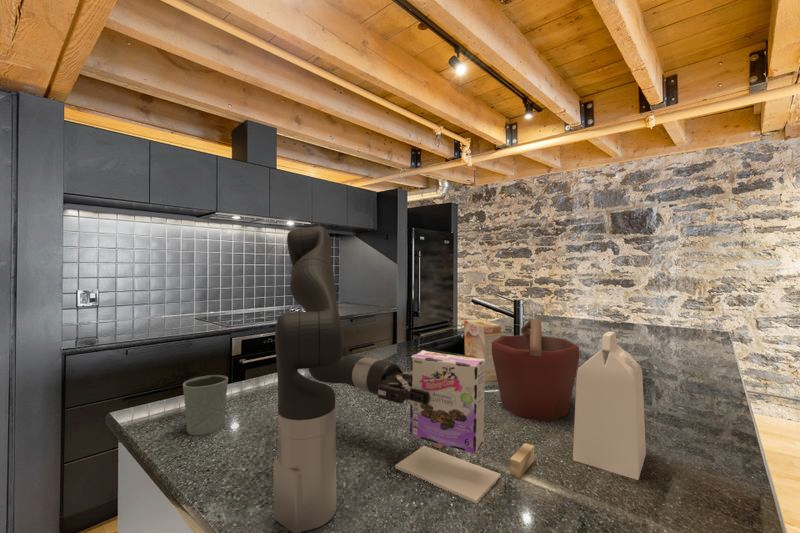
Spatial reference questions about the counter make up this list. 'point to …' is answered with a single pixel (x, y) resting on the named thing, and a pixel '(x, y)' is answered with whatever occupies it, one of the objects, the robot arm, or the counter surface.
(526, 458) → the block
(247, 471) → the counter surface
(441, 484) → the board
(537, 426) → the counter surface
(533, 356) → the bucket
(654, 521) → the counter surface
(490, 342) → the coffeecake box
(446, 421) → the candy box
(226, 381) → the green cup
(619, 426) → the milk
